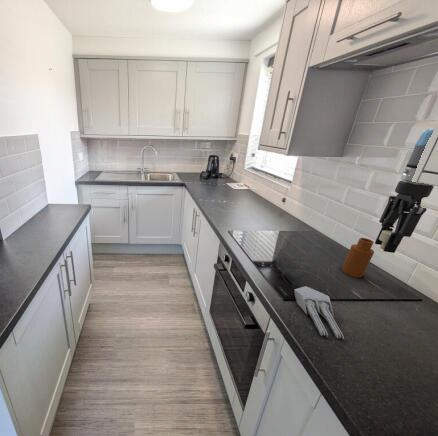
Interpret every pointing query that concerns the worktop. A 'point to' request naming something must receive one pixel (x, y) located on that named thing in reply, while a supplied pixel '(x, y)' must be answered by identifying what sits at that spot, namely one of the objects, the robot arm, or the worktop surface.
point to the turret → (317, 309)
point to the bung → (385, 238)
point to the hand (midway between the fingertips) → (384, 247)
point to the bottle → (358, 258)
